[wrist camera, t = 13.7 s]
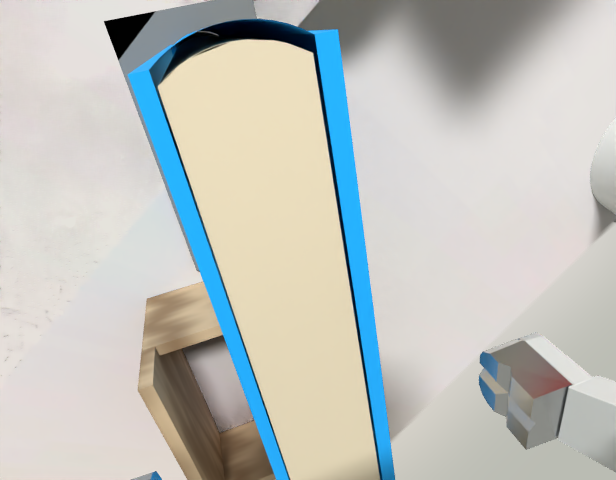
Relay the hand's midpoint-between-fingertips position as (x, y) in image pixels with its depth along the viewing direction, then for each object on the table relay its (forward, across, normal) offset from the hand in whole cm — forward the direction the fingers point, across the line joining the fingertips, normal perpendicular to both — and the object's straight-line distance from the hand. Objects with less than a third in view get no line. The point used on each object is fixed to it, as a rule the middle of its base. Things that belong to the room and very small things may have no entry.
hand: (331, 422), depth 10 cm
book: (+27, 0, 0) cm, 27 cm away
